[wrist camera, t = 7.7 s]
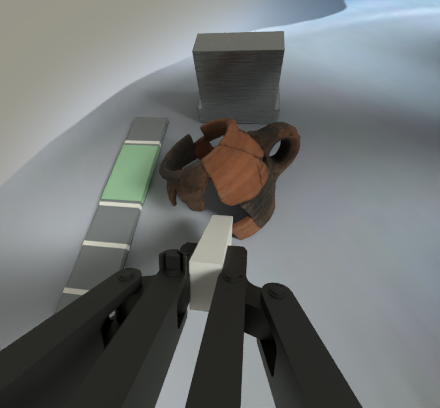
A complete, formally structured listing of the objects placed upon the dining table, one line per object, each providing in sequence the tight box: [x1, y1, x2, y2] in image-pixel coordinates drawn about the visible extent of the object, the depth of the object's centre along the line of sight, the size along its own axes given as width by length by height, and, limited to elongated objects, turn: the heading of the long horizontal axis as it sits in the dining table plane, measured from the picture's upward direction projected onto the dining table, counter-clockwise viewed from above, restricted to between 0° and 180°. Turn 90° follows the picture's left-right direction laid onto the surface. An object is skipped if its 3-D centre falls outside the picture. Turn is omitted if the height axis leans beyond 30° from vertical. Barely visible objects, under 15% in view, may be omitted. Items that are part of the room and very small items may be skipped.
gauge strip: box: [55, 118, 168, 314], centre depth 22 cm, size 22×4×1 cm, turn 174°
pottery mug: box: [159, 118, 300, 240], centre depth 20 cm, size 12×10×8 cm
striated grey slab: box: [192, 31, 285, 124], centre depth 24 cm, size 5×9×8 cm, turn 84°
